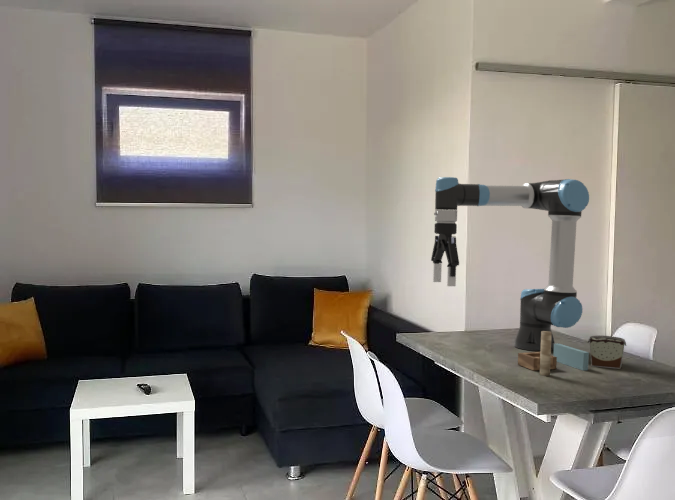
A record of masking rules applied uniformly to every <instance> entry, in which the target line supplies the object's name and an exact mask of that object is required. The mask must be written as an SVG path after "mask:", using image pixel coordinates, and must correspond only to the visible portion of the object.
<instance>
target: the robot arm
mask: <svg viewBox="0 0 675 500" xmlns="http://www.w3.org/2000/svg"><path fill="white" fill-rule="evenodd" d="M435 182H436V183H435V190H434V192H435V201H434V205H435V206H434V212H433V215H434V222H435V223H434V234H437V235H435V236H434V244H433V248H432V253H431V257H430V258H431V259H430V261H431V262H432V264H433V270H432V271H433V273H432V274H433V275H432V277H433V278H432V283H442V265H443V261H442V260H443V256H444V253H445V256H446V261H447V266H446V267H447V278H446V279H447V282H446V283H447V285H446V287H456V286H457V284H456V283H457V282H456V281H457V280H456V279H457V267H458V266H460V260H459V253H458V245H457V237H455V236H454V237H453V235H456V234H458V233H457V232H458V229H457V228H458V226H457V223H456V222H458V206H459V207H464V206H465V207H483V206H484V207H485V206H487V207H489V206H490V207H493V206H494V207H501V206H502V207H503V206H507V207H508V206H509V207H517V206H518V207H519V206H520V207H522V208H523V209H534V210H540V211H547V212H548V213H547V216H548V218H550V220H551V236H550V251H549V266H548V268H549V270H548V284H547V286H546V287H545V288H525V289H523V290H522V291H521V293H520V299H519V300H520V309H519V314H520V315H519V328H518V331H517V333H516V337H515V339H514V347H515V348H516V349H517V348H518V349H520V350H526V351H533V352H540V351H541V331H550V332H552V326H553V327H555V328H563V329H564V328H565V329H568V328H571V327H573V326H575V325H576V324H577V323H578V322H579V321H580V319H581V317H582V316H583V309H584V308H583V304H582V302H580V299H578V298H577V294H578V292H577V290H576V289H575V287H574V268H575V255H576V253H575V252H576V239H577V238H576V235H577V222H578V220H580V219H581V218H582V212H583V210H585V209H586V207H587V206H588V204H589V202H590V194H589V191H588V187H587V186H586V185H585V184H584V183H583V182H582V181H581V180H578V179H572V178H566V179H554V180H553V179H551V180H544V181H538V182H530V183H529V182H525V183H522V185H486V184H481V183H477V184H475V183H459V179H458V178H457V177H451V176H439V177H438V178H437V179H436V181H435ZM552 333H553V332H552ZM554 344H556V342H555V339H554V336H553V334H552V335H551V351H554Z"/></svg>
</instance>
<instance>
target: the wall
mask: <svg viewBox="0 0 675 500" xmlns="http://www.w3.org/2000/svg"><path fill="white" fill-rule="evenodd" d="M589 352H590V351H585V350H582V349H579V348H575V347H572V346H568V345H565V344H562V343H560V342H559V343H555V344H554V350H553V355H552V356H555V357H557V362H558V363H559V364H562V365H565V366H569V367H572V368H575V369H578V370H580V371H582V372H583V371H589V355H590V353H589Z"/></svg>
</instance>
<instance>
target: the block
mask: <svg viewBox="0 0 675 500" xmlns="http://www.w3.org/2000/svg"><path fill="white" fill-rule="evenodd" d="M517 365H518V366H521V367H523V368H526V369H529V370H530V371H540V351H533V352H532V351H531V352H518V353H517ZM556 369H557V357H555V356H553V355H551V361H550V370H556Z"/></svg>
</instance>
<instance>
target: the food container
mask: <svg viewBox="0 0 675 500" xmlns="http://www.w3.org/2000/svg"><path fill="white" fill-rule="evenodd" d="M587 340H588V341H587V344H589V352H590V353H589V355H590V366H591V367H596V368H597V367H598V368H607V369H608V368H609V369H618V370H621V369H622V368H621V367H622V362H623V358H624V357H623V355H624V349H625V347H627V341H626V339H625V338H623V337H618V336H613V335H612V336H611V335H590V336H589V338H588V339H587Z"/></svg>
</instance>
